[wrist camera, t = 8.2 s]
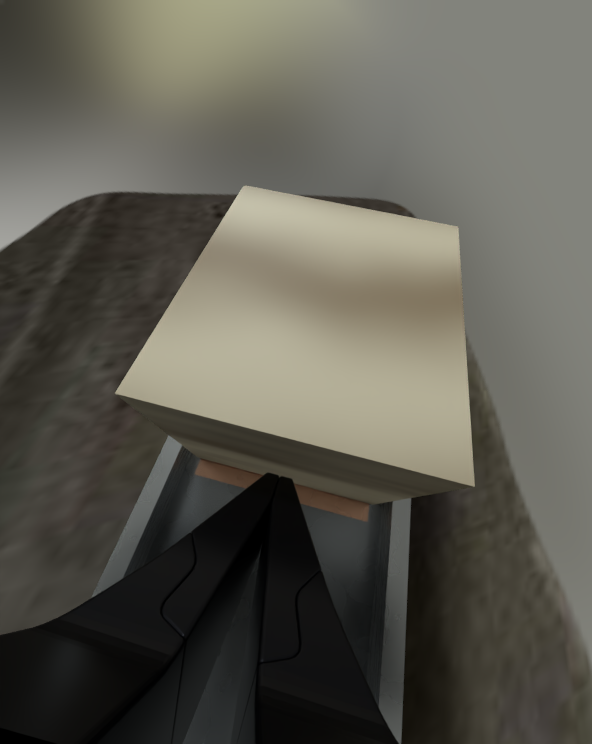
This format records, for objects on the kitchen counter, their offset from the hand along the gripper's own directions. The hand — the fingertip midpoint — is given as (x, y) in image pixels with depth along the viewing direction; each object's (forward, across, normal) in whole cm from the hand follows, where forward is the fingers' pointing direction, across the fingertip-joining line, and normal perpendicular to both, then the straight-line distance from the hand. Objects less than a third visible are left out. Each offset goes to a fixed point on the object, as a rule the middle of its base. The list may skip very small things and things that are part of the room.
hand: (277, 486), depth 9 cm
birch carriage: (+8, 0, 0) cm, 8 cm away
